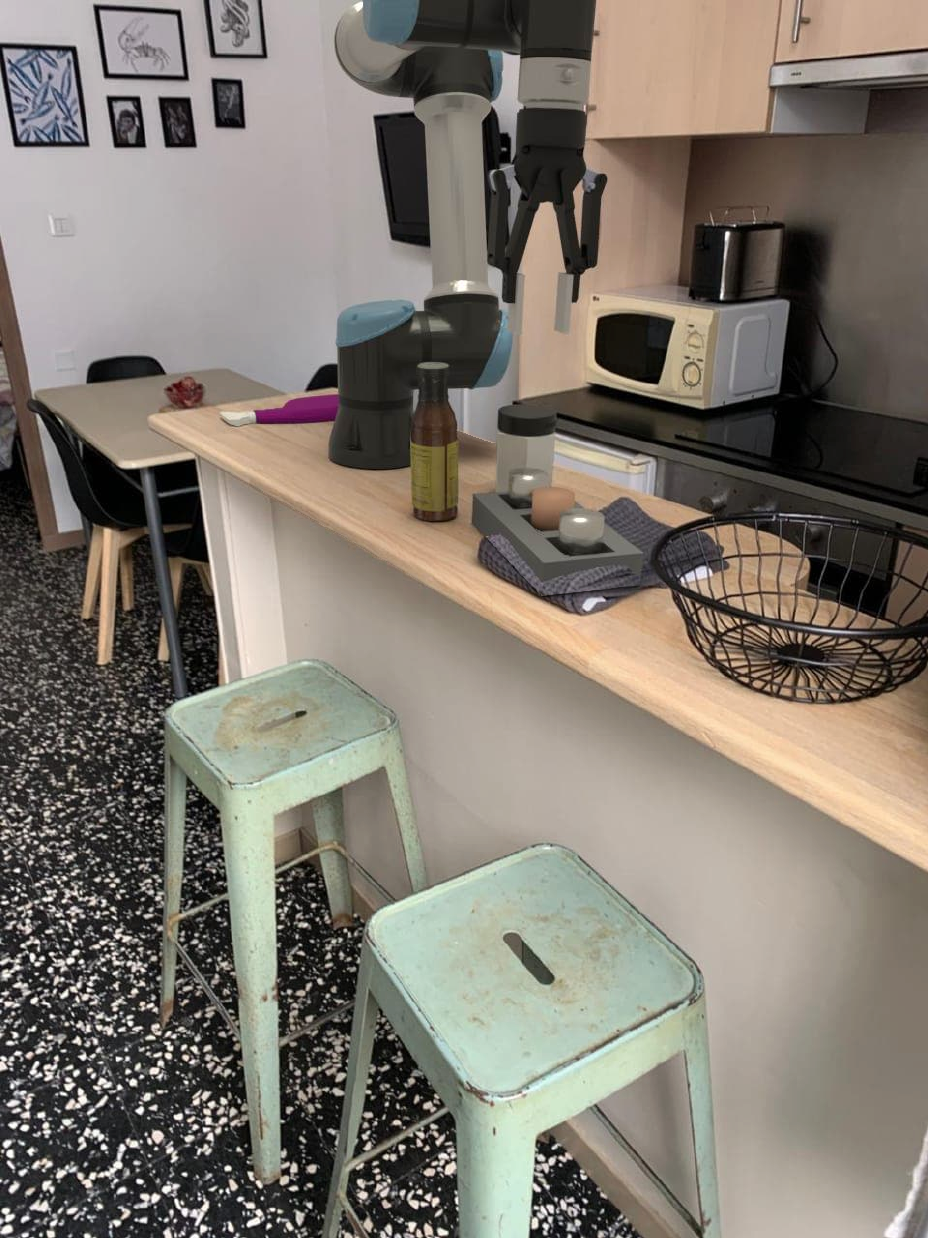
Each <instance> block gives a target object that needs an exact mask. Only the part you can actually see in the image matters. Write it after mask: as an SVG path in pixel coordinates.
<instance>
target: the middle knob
mask: <svg viewBox="0 0 928 1238" xmlns="http://www.w3.org/2000/svg"><path fill="white" fill-rule="evenodd" d="M575 499H576V493H575V492H574V491H572V490H570V489H568V488H565V487H561V486H560V487H559V486H551V487H542V488H537V489H535V490H534V491H533V497H532V512H531V526H532V527H533V528H535V529H537V530H540V531H553V530H558V528H559V516H560V512H561V511H563V510H566V509H571V508H574V501H576V500H575Z"/></svg>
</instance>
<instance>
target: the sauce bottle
mask: <svg viewBox="0 0 928 1238" xmlns="http://www.w3.org/2000/svg"><path fill="white" fill-rule="evenodd" d="M449 375H450V373H449V365H448V364H446V363H441V362H425V363H421V364H419V365H418V366H417V377H418V379H419V382H418V383H419V389H418V394H417V403H416V407H415V409H414V414H413V417H412V423H411V429H410V452H411V465H410V480H411V482H410V483H411V484H410V486H411V487H410V489H411V495H410V496H411V504H412V506H413V507H412V510H413V511H412V512H413V515H414V516H415V517H417V518H418V519H420V520H423V521H426V522H445V521H449V520H452V519H453V518H456V516H457V515H458V509H459V508H458V504H459V437H458V421H457V419H456V412H455V411H454V410H453V407H452V405H451V402H450V401H449V398H450V396H449V389H448V377H449Z"/></svg>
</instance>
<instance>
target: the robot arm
mask: <svg viewBox="0 0 928 1238" xmlns="http://www.w3.org/2000/svg"><path fill="white" fill-rule="evenodd" d="M596 6H597V0H362V1H360V2H357V3H356V4H355V3H354V5H352V6H350V8H348V9H347V10H346V11H345V12H344V13H343V14H342V16H341V18H340V19H339V21H338V22H337V26H336V28H335V32H334V37H333V43H334V51H335V56H336V59H337V61H338V63H339V66H340V67H341V69H342V71H343V72H344V73H345V74H346V76H348V77H349V79H350V80H352V81H354V82H355V83H356V84H357V85H359V86H361V87H362V88H364V89H366V90H368V91H370V92H373V93H375V94H378V95H383V96H387V97H394V98H407V99H412V100H413V113H414V116H415V117H416V118H418V120H419V121H421V122H422V123H423V125H424V135H425V153H426V172H427V173H426V175H427V177H426V178H427V195H428V196H427V197H428V216H429V239H430V241H429V242H430V259H431V261H430V262H431V277H432V278H431V279H432V282H431V283H432V289H431V291H429V292H428V294H427V295H426V296H425V297H424V299H423V310H416V307H415V305H414V303H413V301H410V300H406V299H398V300H397V299H395V300H392V299H387V300H376V301H370V302H364V303H360V304H359V303H358V304H356V305H352V306H349V307H347V308H345V309H343V310H341V312H340V313H339V315H338V316H337V319H336V339H335V342H334V343H335V346H336V351H337V353H336V354H337V355H336V356H337V394H338V411H337V415H336V418H335V421H334V423H333V424H332V425H333V426H332V429H331V431H330V435H329V439H328V458H329V459H330V460H331V461H332V462H334V463H336V464H339V465H340V466H341V465H342V466H345V467H350V468H356V469H369V470H387V469H389V470H390V469H397V468H404V467H405V468H406V467H410V466H411V452H410V429H411V423H412V417H413V414H414V412H415V409H414V392H415V391H416V390H419V383H418V382H419V379H418V377H417V366H418V365H419V364H421V363H425V362H441V363H446V364H448V365H449V373H450V375H449V377H448V390H451V389H452V390H453V389H468V390H474V389H480V388H483V389H484V388H492V387H494V386H497V385H498V384H499V383H500V382H501V381H502V380H503V378H504V376H505V374H506V372H507V369H508V367H509V363H510V360H511V354H512V349H513V342H514V341H513V340H514V335H517V336H518V335H519V336H520V335H522V331H523V330H522V329H523V315H524V314H523V313H524V312H523V311H524V297H525V278H526V276H525V274H523V273H519V271H520V267H521V263H522V261H523V256H524V253H525V250H526V246H527V243H528V239H529V235H530V233H531V230H532V225H533V223H534V219H535V216H536V213H537V212H538V211H539V208H540V205H541V204H544V203H551V204H552V208H553V211H554V212H555V217H556V221H557V223H556V224H557V229H558V234H559V235H558V236H559V241H560V246H561V252H562V254H561V255H562V258H563V264H564V265H563V267H564V270H565V272H562V271H561V272H557V285H556V297H555V298H556V299H555V313H554V315H555V316H554V325H553V326H554V328H553V331H556V332H558V333H561V334H563V335H565V334H570V327H571V326H570V325H571V313H572V304H573V303H574V304H577V302H578V300H579V297H580V296H579V295H580V283H581V275H584V273H585V272H586V271H587V270H589V269H594V268H595V267H597V266H598V262H599V261H598V258H599V241H600V226H601V225H600V224H601V213H602V212H601V211H602V197H603V194H604V191H605V189H606V186H607V183H608V176H607V174H605V173H598V172H596V171H593V170H591V169H588V168H587V164H586V161H585V157H584V151H585V145H586V133H587V120H588V115H587V114H586V111H584V110H583V106H585V105H587V104H588V103H589V97H590V96H589V94H590V80H591V72H592V71H591V68H592V53H593V44H594V43H593V42H594V33H595V31H594V29H595V20H596V19H595V18H596V9H597V8H596ZM503 53H504V54H506V55H510V56H519V71H518V72H519V73H518V88H517V101H518V103H519V104H521V105H522V108H520V109H519V110H518V112H517V113H516V126H515V127H516V130H515V153H514V156H513V159H512V160H511V162H510V165H507V166H505V167H502V168H500V169H490V170H489V171H488V172H487V175H486V176H487V181H488V186H489V189H490V208H489V221H488V222H489V224H488V239H487V227H486V226H487V221H486V220H487V219H486V202H485V201H486V200H485V174H484V171H485V170H484V169H485V168H484V152H483V151H484V150H483V146H484V145H483V123H482V122H483V121H484V120H485V118H486V117H487V116H488V115H489V114H490V112H491V111H492V103H493V102H495V101H497V99H499V97H500V94H501V90H502V87H503V86H502V85H503V71H504V55H503ZM513 178H514V180H515V181H516V183H517V185H518V186H519V189H520V194H519V199H518V202H517V210H516V213H515V218H514V220H513V224H512V228H511V231H510V235H509V239H508V242H507V232H508V230H507V228H508V216H509V202H510V192H509V189H511V188H512V183H513V182H512V180H513ZM580 182H582V184H581V188H582V190H583V193H582V195H583V196H582V203H581V205H582V206H581V218H580V219H581V222H580V240H579V235H578V228H577V222H576V215H575V208H576V203H575V196H574V191H575V189H576V188H577V186H578V185H579V184H580ZM487 240H488V241H487ZM487 242H488V243H487ZM506 244H507V246H506ZM488 265H489V266H491V267H493V268H495V269H498V270H500V271H501V273H502V282H501V285H502V286H501V287H502V288H501V299H502V302H503V303H505V304H508V308H507V309H508V310H505V309H503V308H502V309H501V308H500V303H499V295H498V294H497V293H496V292H495V291H494V290H493V289H492V288H491V287H490V285H489V272H488V271H489V270H488V269H489V268H488Z"/></svg>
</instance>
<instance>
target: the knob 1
mask: <svg viewBox="0 0 928 1238" xmlns="http://www.w3.org/2000/svg"><path fill="white" fill-rule="evenodd" d="M548 481H549V474H548V473H547V472H546V471H543V470H540V469H534V468H518V469H514V470H511V471H510V472H509V485H508V505H509V506H510V507H512V508H515V509H529V508H532V497H533V491H534V490H535V489H537V488H542V487H548Z"/></svg>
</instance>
